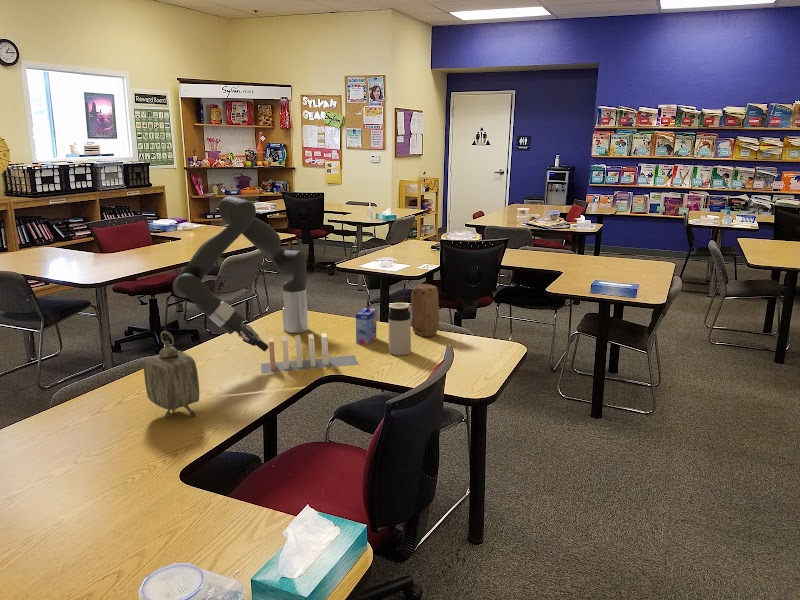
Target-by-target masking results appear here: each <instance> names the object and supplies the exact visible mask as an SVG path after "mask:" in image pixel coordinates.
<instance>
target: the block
mask: <svg viewBox="0 0 800 600" xmlns="http://www.w3.org/2000/svg"><path fill="white" fill-rule="evenodd" d="M410 297H411V300H410V301H411V302H410V303H411V304H410V308H411V314H412V315H411V316H412V318H411V327H412V331H413V333H415V334H416V335H419V336H421V337H426V338H427V337H430V338H431V337H434V336H435V335H436V334H437V332H438V330H439V329H438V328H439V325H440V311H439V309H440V308H439V307H440V306H439V302H440V301H439V290H438V287H437V286H436V285H432V284H429V283H419V284H417V285H416V286H414V288H413V289H412V291H411V296H410Z"/></svg>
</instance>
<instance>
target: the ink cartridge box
mask: <svg viewBox="0 0 800 600" xmlns="http://www.w3.org/2000/svg"><path fill="white" fill-rule="evenodd" d="M371 306H372V304H370V305H368V307H363V308H362V309H360V310H359V311H358V312H357V313H355V344H360V345H369V344H371V343H373V342H374V341H375V340H376V339H377V322H378V321H377V320H378V319H377V313H378V312H377V311H378V310H377V308H371Z"/></svg>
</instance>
